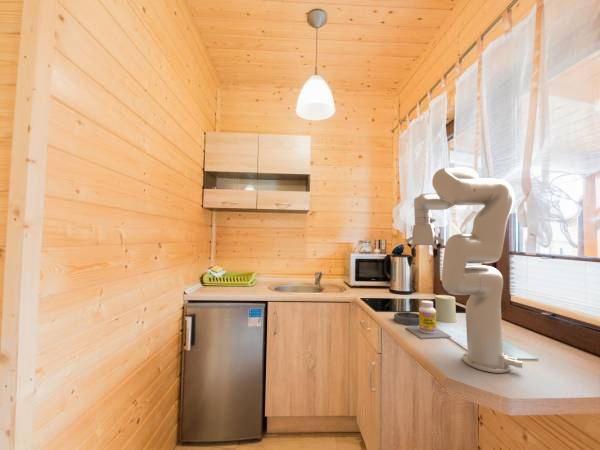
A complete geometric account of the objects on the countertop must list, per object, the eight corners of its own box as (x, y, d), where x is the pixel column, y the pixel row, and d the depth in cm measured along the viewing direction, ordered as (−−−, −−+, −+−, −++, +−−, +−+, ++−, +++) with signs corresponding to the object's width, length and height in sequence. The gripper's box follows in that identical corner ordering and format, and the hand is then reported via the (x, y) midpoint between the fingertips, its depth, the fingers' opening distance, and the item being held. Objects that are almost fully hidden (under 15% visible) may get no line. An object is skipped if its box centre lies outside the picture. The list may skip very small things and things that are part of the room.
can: (447, 323, 126) (445, 298, 126) (431, 318, 134) (430, 294, 135) (461, 321, 129) (459, 296, 130) (445, 316, 137) (444, 293, 138)
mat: (433, 327, 120) (433, 326, 120) (451, 337, 107) (451, 336, 107) (405, 328, 119) (405, 327, 119) (421, 339, 106) (421, 337, 106)
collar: (426, 321, 130) (425, 315, 130) (417, 327, 121) (417, 320, 121) (401, 316, 138) (400, 310, 138) (391, 322, 129) (391, 315, 129)
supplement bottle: (421, 333, 110) (420, 303, 111) (417, 328, 117) (416, 299, 118) (438, 334, 109) (437, 303, 110) (434, 329, 116) (432, 300, 116)
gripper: (444, 221, 124) (446, 257, 123) (407, 223, 136) (408, 256, 135) (440, 220, 119) (442, 258, 118) (402, 222, 130) (403, 256, 129)
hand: (424, 257), depth 126 cm, fingers open, 9 cm apart
